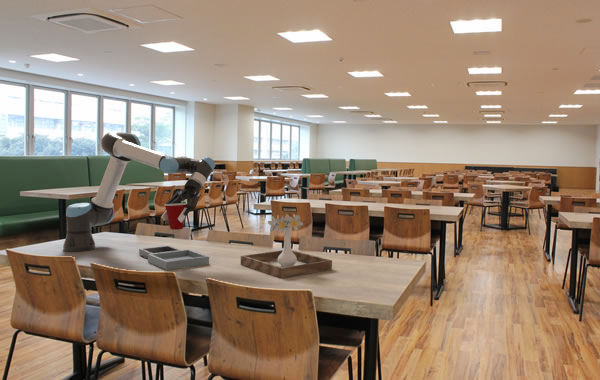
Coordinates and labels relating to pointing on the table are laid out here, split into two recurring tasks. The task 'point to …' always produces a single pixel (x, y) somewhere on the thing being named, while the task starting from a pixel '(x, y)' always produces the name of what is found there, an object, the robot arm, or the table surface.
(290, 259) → the flower vase
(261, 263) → the frame
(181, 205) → the plastic cup
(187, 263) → the tray
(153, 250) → the square collar
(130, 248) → the table surface
